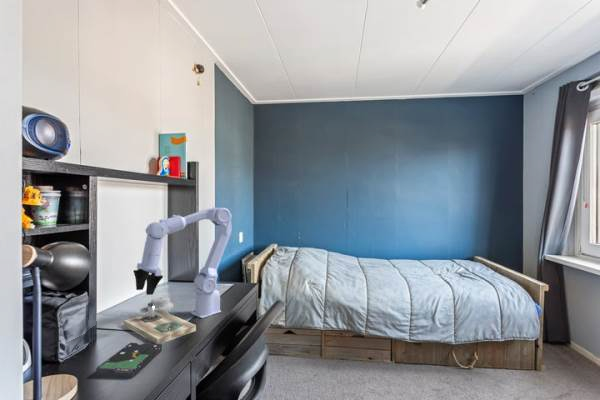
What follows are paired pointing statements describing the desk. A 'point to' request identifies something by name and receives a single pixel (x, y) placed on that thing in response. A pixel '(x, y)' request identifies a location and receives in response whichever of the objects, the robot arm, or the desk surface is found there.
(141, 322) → the dock board
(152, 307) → the steel pin
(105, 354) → the desk surface
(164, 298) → the mechanical component
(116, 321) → the desk surface
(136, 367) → the disk drive
